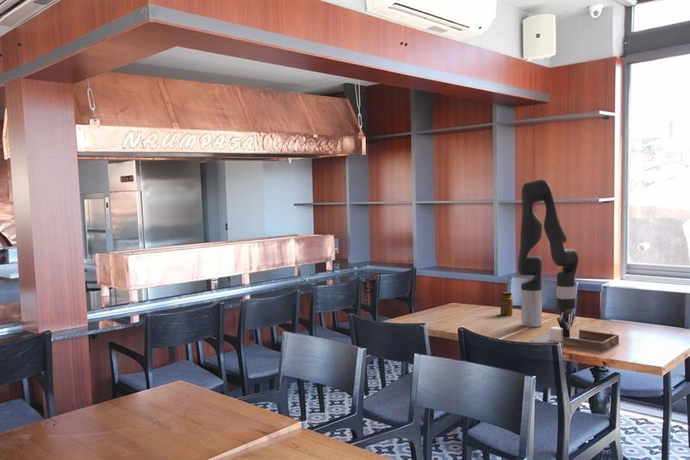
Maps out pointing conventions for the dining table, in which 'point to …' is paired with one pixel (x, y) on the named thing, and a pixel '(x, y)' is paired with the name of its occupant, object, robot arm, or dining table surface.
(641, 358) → the dining table surface
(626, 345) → the dining table surface
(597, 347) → the tray
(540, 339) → the slate board
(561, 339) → the cream cube
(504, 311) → the condiment
